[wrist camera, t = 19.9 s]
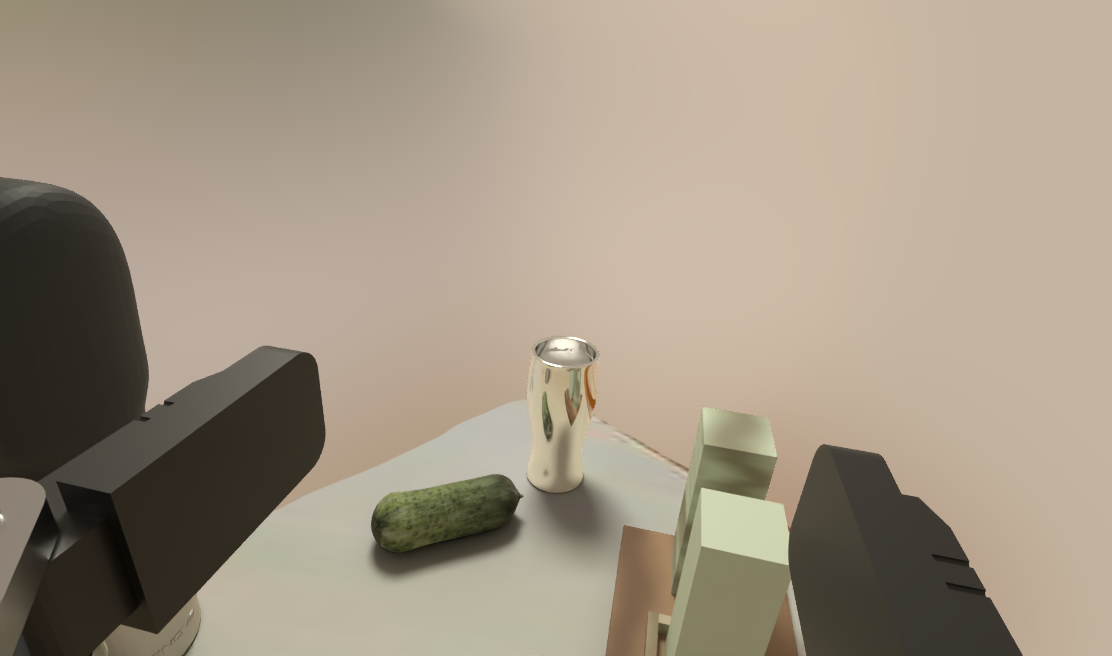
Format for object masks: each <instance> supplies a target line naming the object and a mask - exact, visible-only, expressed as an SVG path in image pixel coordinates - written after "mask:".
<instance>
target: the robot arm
mask: <svg viewBox="0 0 1112 656" xmlns="http://www.w3.org/2000/svg"><path fill="white" fill-rule="evenodd" d="M148 381H149V369H148V361H147V355H146V351H145V346H144V341H143V336H142V331H141V326H140V320H139V316H138V310H137V305H136V299H135V294H134V288H133V284H132V279H131V275H130V271H129V267H128V263H127V260H126V257H125V253H124V251H123V248H122V246H121V243H120V241H119V239H118V237H117V235H116V233H115V231H114V230H113V228H112V226H111V225H110V223H109V222H108V220H107V219H106V218H105V216H104V215H103V214H102V213H101V212H100V210H98V209H97V208H96V207H95V206H94V205H93V204H92V203H91V202H90V201H88V200H87V199H85V198H84V197H82V196H80V195H79V194H77V193H75V192H73V191H71V190H68V189H65V188H62V187H59V186H55V185H51V184H46V183H40V182H34V181H28V180H19V179H11V178H2V177H0V656H182V655H183V654H184V653H185V651H186V650H187V649H188V647H189V646H190V644H191V643H192V642H193V640H194V637H195V635H196V633H197V631H198V629H199V624H200V620H201V612H200V606H199V602H198V599H197V595H196V593H197V592H198V591H199V590H200V589H201V587H202V586H203V585H204V584H205V583H206V582H207V581H208V580H209V579H210V578H211V577H212V576H213V575H214V574H215V572H216V571H217V570H218V569H219V568H220V567H221V566H222V565H223V564H224V563H225V562H226V561H227V560H228V559H229V557H230V556H231V555H232V554H233V553H234V552H235V551H236V550H237V549H238V548H239V547H240V546H241V545H242V543H243V542H244V541H245V540H246V539H247V538H248V537H249V536H250V535H251V534H252V533H253V532H254V531H255V530H256V528H257V527H258V526H259V525H260V524H261V523H262V522H263V521H264V520H265V519H266V518H267V517H268V516H269V514H270V513H271V512H272V511H273V510H274V509H275V508H276V507H277V506H278V505H279V504H280V503H281V501H282V500H283V499H284V498H285V497H286V496H287V495H288V494H289V493H290V492H291V491H292V490H293V489H294V488H295V487H296V486H297V484H298V483H299V482H300V481H301V480H302V479H303V478H304V477H305V476H306V475H307V474H308V473H309V472H310V470H311V469H312V468H313V467H314V466H315V464H316V463H317V461H318V459H319V457H320V455H321V453H322V450H323V447H324V442H325V423H324V414H323V406H322V398H321V390H320V382H319V374H318V366H317V363H316V360H315V358H314V357H313V356H312V355H311V354H309V353H306V352H300V351H295V350H289V349H283V348H277V347H272V346H262V347H259V348H258V349H256V350H254V351H253V352H251V353H250V354H248V355H247V356H245V357H244V358H242V359H241V360H239V361H237V362H236V363H234V364H233V365H231V366H230V367H228V368H227V369H225V370H224V371H221V372H219V373H216V374H214V375H211V376H208V377H206V378H203V379H200V380H198V381H195V382H193V383H191V384H190V385H188V386H186V387H185V388H183V389H182V390H180V391H179V392H177V393H175V394H174V395H172V396H171V397H169V398H168V399H166V400H165V401H164V404H163V405H160V404H158V405H157V406H155V407H154V408H152V409H151V410H149V411H148V412H145V401H146V395H147V389H148ZM788 562H789V570H790V575H791V580H792V585H793V590H794V595H795V600H796V605H797V610H798V615H799V620H800V625H801V630H802V635H803V640H804V645H805V650H806V655H807V656H1023V655H1022V653H1021V652H1020V650H1019V648H1018V646H1017V645H1016V643H1015V641H1014V639H1013V638H1012V636H1011V634H1010V632H1009V631H1008V629H1007V627H1006V625H1005V623H1004V622H1003V620H1002V618H1001V616H1000V614H999V613H998V611H997V609H996V607H995V606H994V604H993V602H992V600H991V599H990V598H988V597H986V596H985V591H986V590H985V588H984V586H983V584H982V583H981V581H980V579H979V578H978V576H977V574H976V572H975V571H974V569H973V568H970V567H969V560H968V558H967V556H966V555H965V553H964V551H963V549H962V547H961V546H960V544H959V542H958V541H957V539H956V537H955V535H954V533H953V531H952V530H951V528H950V527H949V526H948V525H947V524H946V523H945V522H944V521H943V520H942V519H940V517H938V516H937V515H936V514H935V513H934V512H933V511H932V510H931V509H930V508H929V507H928V506H927V505H926V504H925V503H924V502H923V501H921V499H919V498H918V497H914V496H908V495H903V494H901V492H900V490H899V488H898V486H897V484H896V482H895V480H894V478H893V476H892V474H891V472H890V470H889V468H888V466H887V464H886V462H885V460H884V458H883V457H882V456H881V455H879V454H876V453H871V452H866V451H860V450H854V449H848V448H843V447H837V446H831V445H825V444H823V445H821V446H820V447H819V448H818V449H817V451H816V453H815V455H814V458H813V461H812V464H811V467H810V470H809V473H808V476H807V480H806V482H805V485H804V488H803V491H802V495H801V497H800V501H799V504H798V507H797V510H796V513H795V516H794V519H793V522H792V525H791V530H790V535H789V544H788Z"/></svg>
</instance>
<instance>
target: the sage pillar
mask: <svg viewBox="0 0 1112 656" xmlns="http://www.w3.org/2000/svg"><path fill="white" fill-rule="evenodd" d="M788 544H789V532H788V527H787V522H786V517H785V511H784V506H783V504H779V503H774V502H769V501H764V500H760V499H755V498H750V497H745V496H740V495H735V494H730V493H725V492H720V491H715V490H710V489H705V488H701V491H700V495H699V499H698V504H697V508H696V512H695V517H694V521H693V525H692V530H691V534H690V538H689V543H688V547H687V551H686V556H685V560H684V564H683V569H682V573H681V577H680V582H679V586H678V590H677V595H676V599H675V603H674V608H673V612H672V617H671V621H670V625H669V630H668V634H667V638H666V643H665V653H664V656H764V655H765V652H766V649H767V646H768V643H769V641H770V638H771V635H772V632H773V629H774V626H775V623H776V620H777V617H778V615H779V612H780V609H781V606H782V603H783V600H784V597H785V594H786V591H787V589H788V586H789V583H790V580H791V575H790V570H789V562H788Z"/></svg>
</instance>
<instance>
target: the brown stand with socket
mask: <svg viewBox="0 0 1112 656" xmlns="http://www.w3.org/2000/svg"><path fill="white" fill-rule="evenodd" d="M776 460H777V453H776V450H775V445H774V440H773V436H772V431H771V427H770V423H769V418H766V417H760V416H753V415H748V414H742V413H736V412H731V411H725V410H719V409H713V408H707V407H703V408H702V412H701V417H700V421H699V426H698V431H697V435H696V440H695V445H694V449H693V454H692V459H691V463H690V468H689V472H688V477H687V482H686V486H685V491H684V496H683V500H682V505H681V509H680V514H679V519H678V523H677V528H676V533H675V536H673V535H669V534H664V533H659V532H654V531H649V530H644V529H640V528H635V527H630V526H625V525H624V529H623V535H622V542H621V549H620V556H619V563H618V570H617V577H616V585H615V592H614V599H613V606H612V613H611V620H610V627H609V635H608V642H607V649H606V656H664V653H665V643H666V638H667V634H668V630H669V625H670V621H671V617H672V612H673V608H674V603H675V599H676V595H677V590H678V586H679V582H680V577H681V573H682V569H683V564H684V560H685V556H686V551H687V547H688V543H689V538H690V534H691V530H692V525H693V521H694V517H695V512H696V508H697V504H698V499H699V495H700V491H701V488H705V489H710V490H715V491H720V492H725V493H730V494H735V495H740V496H745V497H750V498H755V499H760V500H764V501H765V497H766V494H767V491H768V488H769V484H770V481H771V477H772V474H773V471H774V467H775V464H776ZM764 656H798V653H797V648H796V642H795V637H794V631H793V626H792V621H791V615H790V610H789V605H788V599H787V594H785V597H784V600H783V603H782V606H781V609H780V612H779V615H778V617H777V620H776V623H775V626H774V629H773V632H772V635H771V638H770V641H769V643H768V646H767V649H766V652H765V655H764Z"/></svg>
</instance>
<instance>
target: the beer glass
mask: <svg viewBox="0 0 1112 656" xmlns="http://www.w3.org/2000/svg"><path fill="white" fill-rule="evenodd" d="M599 355H600V354H599V351H598V349H597V348H596V347H595V346H594V345H593V344H591V343H590V342H588V341H585V340H583V339H579V338H576V337H569V336H552V337H547V338H543V339H541V340H539V341H537V342H536V343H535V344H534V345H533V347H532V354H531V361H530V368H529V375H528V385H527V403H528V413H529V420H530V427H531V435H532V450H531V455H530V458H529V462H528V465H527V477H528V479H529V481H530V482H531V483H532V484H533V485H534V486H535V487H537V488H538V489H540V490H543V491H546V492H550V493H563V492H568V491H571V490H573V489H575V488H576V487H577V486H578V485H579V484H580V483H581V481H582V479H583V465H582V448H583V443H584V440H585V437H586V434H587V431H588V428H589V425H590V422H591V419H592V415H593V412H594V408H595V404H596V398H597V390H598V375H599V374H598V373H599Z"/></svg>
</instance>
